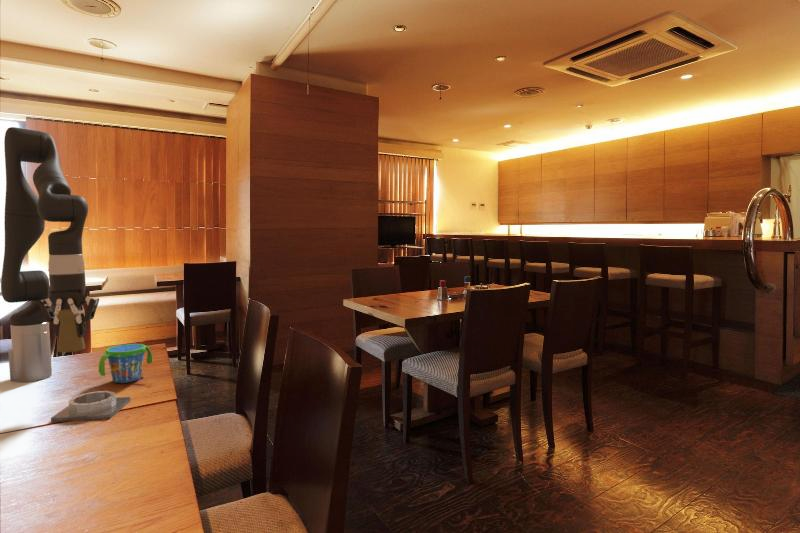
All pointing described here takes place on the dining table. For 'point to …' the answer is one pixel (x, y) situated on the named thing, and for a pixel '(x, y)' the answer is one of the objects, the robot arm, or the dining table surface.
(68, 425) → the dining table surface
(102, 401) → the hub
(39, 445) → the dining table surface
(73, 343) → the cork
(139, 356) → the snack cup
